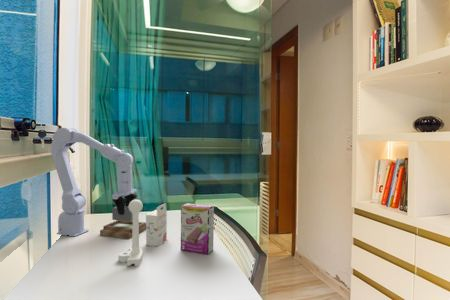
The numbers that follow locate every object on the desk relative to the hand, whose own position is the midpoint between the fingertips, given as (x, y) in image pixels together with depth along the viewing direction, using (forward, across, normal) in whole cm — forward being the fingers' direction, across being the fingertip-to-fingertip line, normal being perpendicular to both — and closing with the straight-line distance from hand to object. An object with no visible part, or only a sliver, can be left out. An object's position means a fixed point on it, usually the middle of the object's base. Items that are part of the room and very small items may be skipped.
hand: (125, 212), depth 122 cm
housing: (+3, 0, 0) cm, 3 cm away
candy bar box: (+8, -10, -37) cm, 39 cm away
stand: (+8, 0, 0) cm, 8 cm away
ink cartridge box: (+8, -7, -19) cm, 22 cm away
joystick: (+8, -24, -19) cm, 32 cm away
